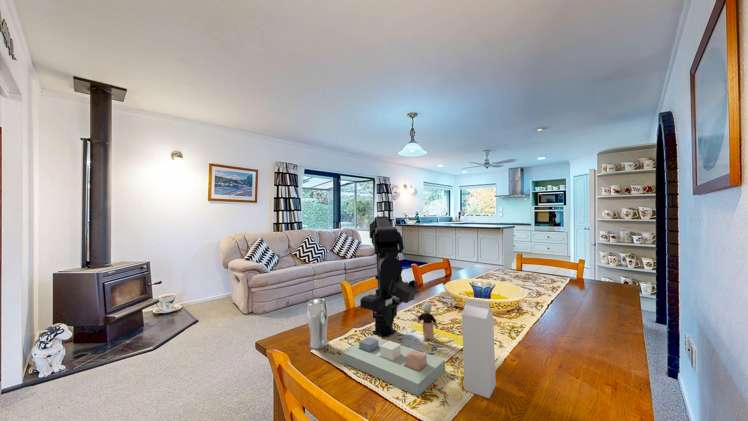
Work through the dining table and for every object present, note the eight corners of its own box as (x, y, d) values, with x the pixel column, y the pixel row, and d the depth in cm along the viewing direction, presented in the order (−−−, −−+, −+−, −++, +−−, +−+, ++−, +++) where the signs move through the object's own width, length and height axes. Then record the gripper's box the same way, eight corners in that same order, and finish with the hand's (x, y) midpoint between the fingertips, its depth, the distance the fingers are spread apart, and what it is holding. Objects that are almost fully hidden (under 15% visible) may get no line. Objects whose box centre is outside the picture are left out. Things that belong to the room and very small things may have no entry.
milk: (472, 378, 77) (469, 295, 77) (496, 386, 73) (492, 298, 73) (464, 390, 72) (460, 301, 72) (489, 399, 68) (486, 305, 68)
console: (371, 344, 98) (371, 335, 98) (445, 370, 81) (444, 359, 81) (341, 361, 88) (341, 351, 88) (418, 396, 70) (418, 383, 70)
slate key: (368, 350, 93) (368, 336, 93) (378, 354, 90) (378, 340, 90) (359, 356, 89) (359, 341, 90) (369, 360, 87) (369, 345, 87)
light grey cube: (389, 355, 87) (389, 340, 87) (401, 359, 84) (400, 344, 84) (380, 361, 84) (380, 345, 84) (392, 366, 81) (392, 350, 81)
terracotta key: (413, 366, 82) (413, 350, 82) (427, 371, 79) (426, 354, 79) (405, 372, 78) (404, 356, 78) (418, 378, 76) (418, 361, 76)
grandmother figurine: (440, 339, 100) (439, 302, 100) (437, 344, 97) (436, 306, 97) (418, 336, 104) (417, 300, 104) (415, 340, 100) (414, 303, 100)
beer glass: (324, 350, 95) (323, 304, 95) (305, 349, 97) (303, 304, 97) (332, 341, 102) (330, 298, 102) (313, 339, 103) (311, 297, 103)
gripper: (390, 281, 72) (392, 345, 72) (428, 269, 86) (430, 321, 86) (358, 276, 79) (360, 334, 79) (398, 265, 93) (399, 314, 93)
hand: (389, 325), depth 84 cm, fingers closed
